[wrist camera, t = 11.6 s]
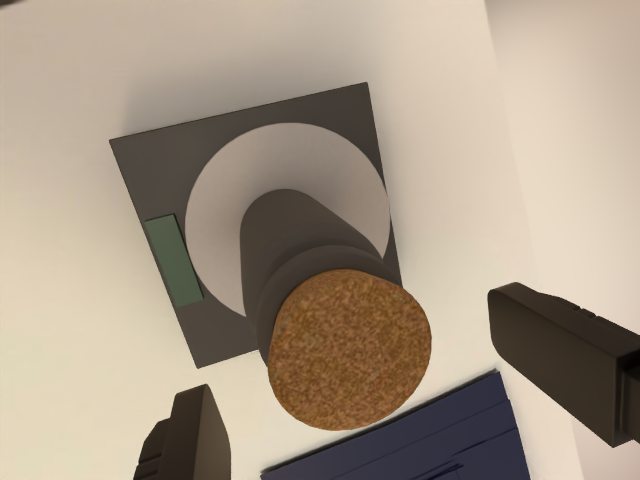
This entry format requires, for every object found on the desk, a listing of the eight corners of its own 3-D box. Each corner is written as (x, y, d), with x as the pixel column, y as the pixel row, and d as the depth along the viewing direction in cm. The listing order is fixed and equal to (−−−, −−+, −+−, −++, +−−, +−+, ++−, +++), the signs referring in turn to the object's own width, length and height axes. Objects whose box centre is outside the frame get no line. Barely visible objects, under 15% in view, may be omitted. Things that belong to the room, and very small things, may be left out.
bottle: (293, 169, 23) (382, 211, 9) (344, 238, 25) (484, 362, 11) (219, 225, 23) (195, 357, 9) (276, 291, 25) (330, 484, 11)
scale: (120, 140, 24) (104, 139, 21) (355, 87, 26) (371, 79, 23) (200, 350, 28) (196, 374, 25) (392, 289, 31) (409, 305, 28)
